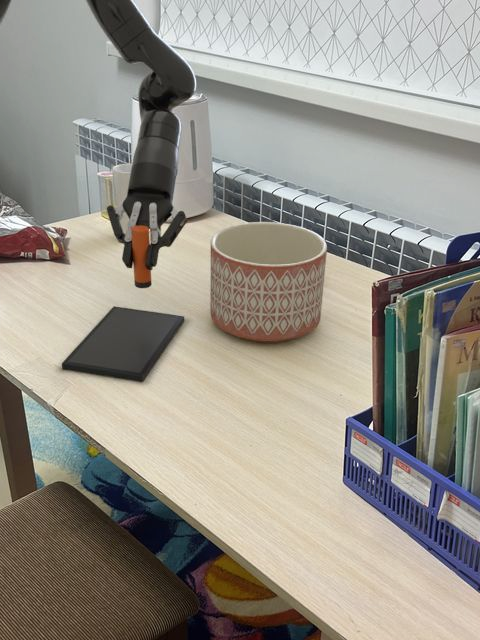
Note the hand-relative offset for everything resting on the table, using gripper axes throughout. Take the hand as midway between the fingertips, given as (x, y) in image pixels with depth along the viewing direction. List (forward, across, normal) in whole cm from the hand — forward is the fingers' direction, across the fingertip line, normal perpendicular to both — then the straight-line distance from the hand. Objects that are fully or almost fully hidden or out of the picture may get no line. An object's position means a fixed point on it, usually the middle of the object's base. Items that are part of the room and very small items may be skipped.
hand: (138, 266), depth 112 cm
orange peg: (+2, 0, +4) cm, 5 cm away
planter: (+4, +20, +12) cm, 24 cm away
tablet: (+12, -1, +4) cm, 13 cm away
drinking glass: (-21, -13, +37) cm, 44 cm away
